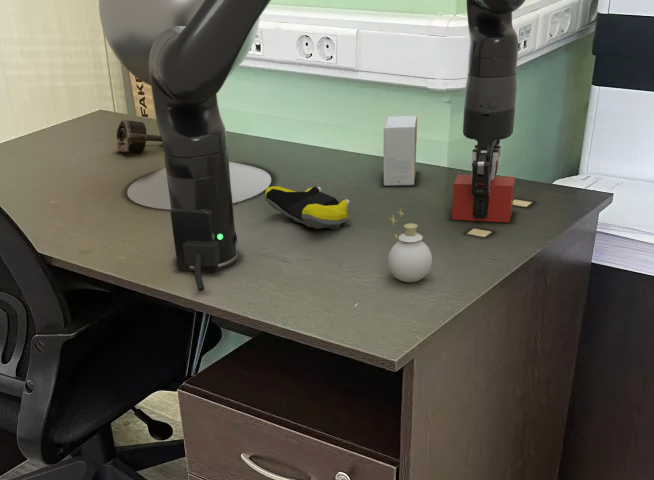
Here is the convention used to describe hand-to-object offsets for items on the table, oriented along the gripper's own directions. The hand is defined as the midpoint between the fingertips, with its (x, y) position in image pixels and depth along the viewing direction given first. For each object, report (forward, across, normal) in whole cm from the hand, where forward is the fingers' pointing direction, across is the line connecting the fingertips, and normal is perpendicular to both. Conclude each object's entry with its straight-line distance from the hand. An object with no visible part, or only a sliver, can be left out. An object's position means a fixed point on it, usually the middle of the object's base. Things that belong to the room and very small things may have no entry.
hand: (482, 211), depth 140 cm
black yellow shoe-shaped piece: (+1, +7, -27) cm, 28 cm away
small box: (+1, -17, -17) cm, 24 cm away
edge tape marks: (+1, 0, +3) cm, 3 cm away
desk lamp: (+1, -9, -54) cm, 55 cm away
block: (+1, 0, 0) cm, 1 cm away
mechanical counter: (+1, -29, -75) cm, 80 cm away
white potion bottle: (+1, +26, -7) cm, 27 cm away
